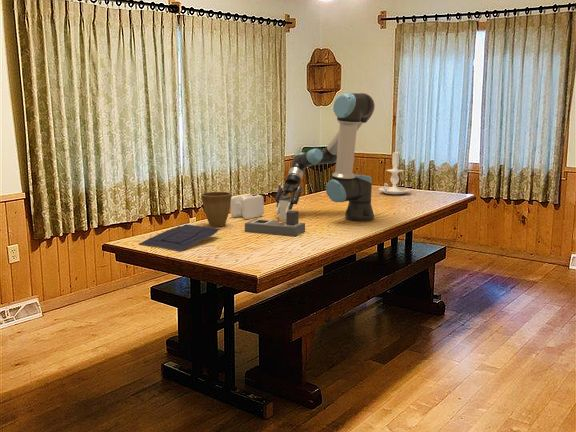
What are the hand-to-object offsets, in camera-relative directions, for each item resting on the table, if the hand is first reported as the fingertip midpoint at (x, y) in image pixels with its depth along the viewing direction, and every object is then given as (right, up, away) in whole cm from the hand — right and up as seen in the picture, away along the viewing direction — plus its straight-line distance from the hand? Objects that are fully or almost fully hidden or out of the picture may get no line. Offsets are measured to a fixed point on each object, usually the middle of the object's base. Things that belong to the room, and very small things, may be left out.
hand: (281, 213), depth 315 cm
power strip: (-3, -9, -24) cm, 26 cm away
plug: (+1, -3, +4) cm, 5 cm away
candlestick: (+72, +13, +86) cm, 112 cm away
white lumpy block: (-19, -2, +10) cm, 21 cm away
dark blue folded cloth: (-44, -13, -43) cm, 63 cm away
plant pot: (-32, -6, -11) cm, 34 cm away
